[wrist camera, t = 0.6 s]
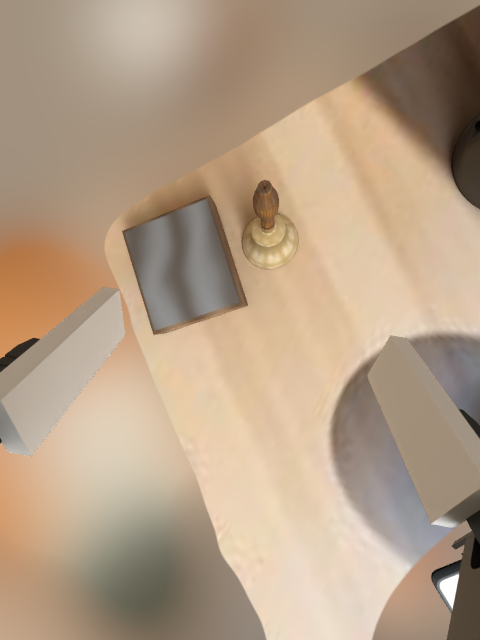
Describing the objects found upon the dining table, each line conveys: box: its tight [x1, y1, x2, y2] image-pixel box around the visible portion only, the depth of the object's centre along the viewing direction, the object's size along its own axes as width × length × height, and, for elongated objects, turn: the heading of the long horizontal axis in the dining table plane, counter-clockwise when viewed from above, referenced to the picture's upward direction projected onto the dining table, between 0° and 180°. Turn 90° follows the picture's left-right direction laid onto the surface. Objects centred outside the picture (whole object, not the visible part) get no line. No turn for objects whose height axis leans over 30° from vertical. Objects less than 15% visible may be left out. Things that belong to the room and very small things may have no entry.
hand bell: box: [242, 180, 299, 269], centre depth 31 cm, size 8×8×16 cm
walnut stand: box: [122, 195, 248, 335], centre depth 39 cm, size 14×16×4 cm
